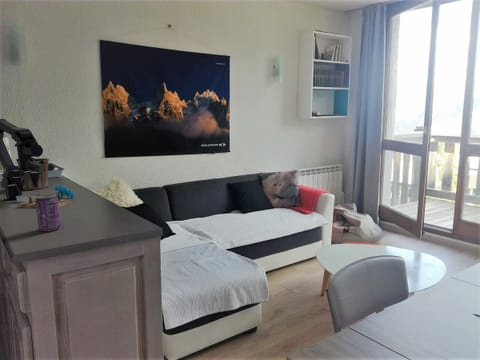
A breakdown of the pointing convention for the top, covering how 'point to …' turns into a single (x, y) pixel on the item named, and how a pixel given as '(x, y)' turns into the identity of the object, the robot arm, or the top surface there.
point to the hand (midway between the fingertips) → (29, 189)
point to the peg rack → (32, 202)
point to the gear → (64, 192)
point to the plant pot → (42, 179)
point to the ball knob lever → (26, 197)
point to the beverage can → (47, 212)
